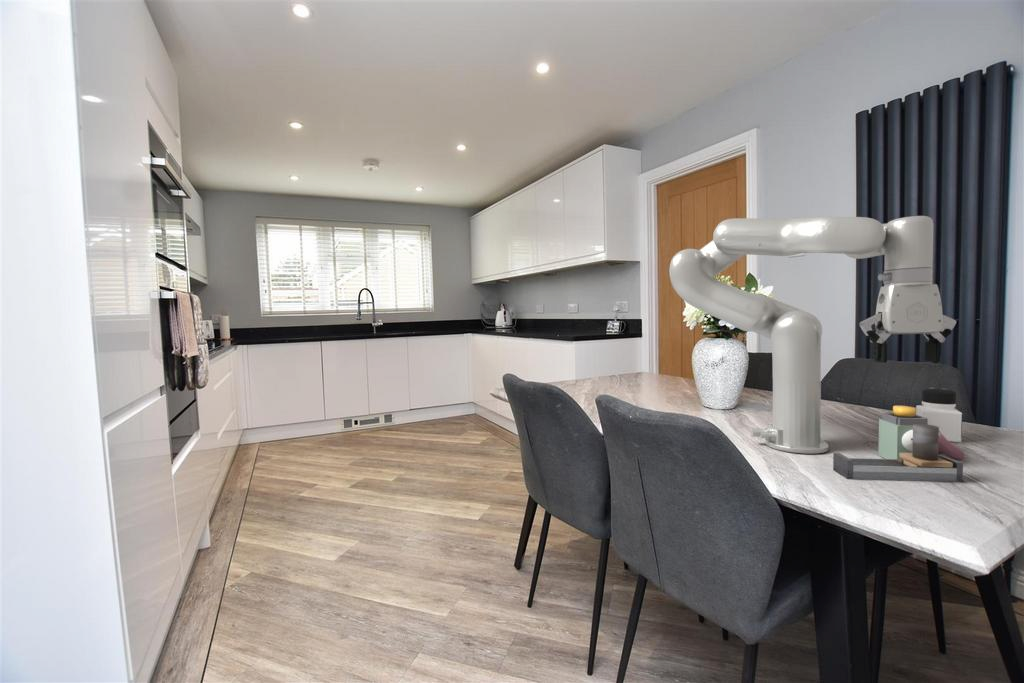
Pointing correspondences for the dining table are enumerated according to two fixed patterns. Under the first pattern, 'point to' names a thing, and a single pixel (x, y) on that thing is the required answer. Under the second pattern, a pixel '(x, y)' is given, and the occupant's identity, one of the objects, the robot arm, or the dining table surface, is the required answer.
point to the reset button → (904, 411)
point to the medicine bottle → (942, 412)
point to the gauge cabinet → (897, 434)
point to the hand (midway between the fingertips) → (906, 361)
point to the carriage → (925, 448)
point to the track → (895, 469)
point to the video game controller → (949, 448)
